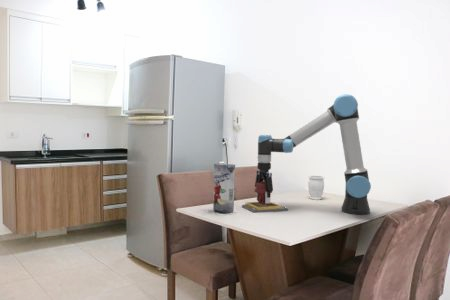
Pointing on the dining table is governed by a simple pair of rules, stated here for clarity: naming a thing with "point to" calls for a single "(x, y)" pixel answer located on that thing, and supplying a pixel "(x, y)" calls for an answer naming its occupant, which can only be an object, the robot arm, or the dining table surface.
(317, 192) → the jar
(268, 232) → the dining table surface
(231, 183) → the juice carton
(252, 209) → the deck plate
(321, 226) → the dining table surface
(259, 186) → the mechanical component
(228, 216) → the dining table surface
